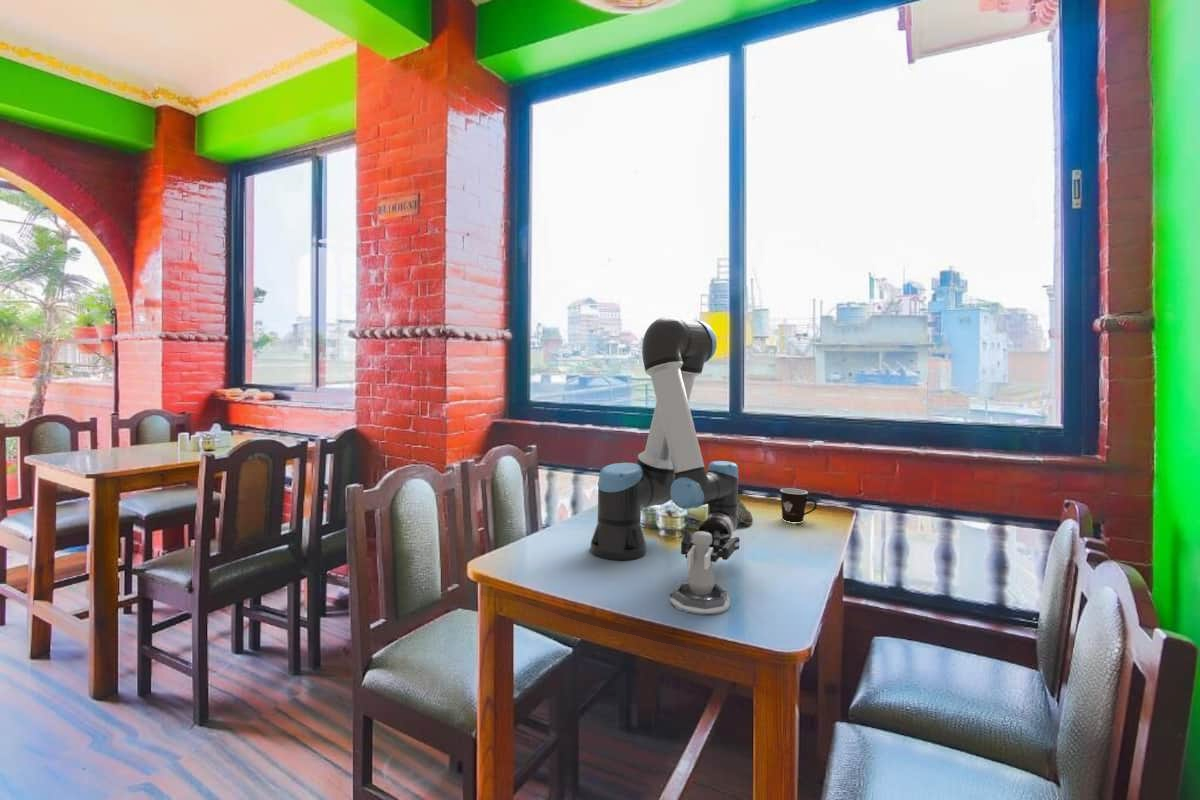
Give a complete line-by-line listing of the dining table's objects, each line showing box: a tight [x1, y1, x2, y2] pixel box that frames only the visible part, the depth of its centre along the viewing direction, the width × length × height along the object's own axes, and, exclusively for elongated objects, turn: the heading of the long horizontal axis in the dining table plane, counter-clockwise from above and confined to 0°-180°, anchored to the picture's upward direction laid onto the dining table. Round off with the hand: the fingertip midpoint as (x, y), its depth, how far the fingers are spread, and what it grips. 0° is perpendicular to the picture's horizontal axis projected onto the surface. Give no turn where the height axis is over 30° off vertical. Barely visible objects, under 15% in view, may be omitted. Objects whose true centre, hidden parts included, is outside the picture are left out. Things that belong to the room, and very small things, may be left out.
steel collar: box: [669, 581, 731, 615], centre depth 129 cm, size 13×13×2 cm
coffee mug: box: [779, 487, 818, 522], centre depth 195 cm, size 12×9×10 cm
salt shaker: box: [687, 530, 716, 595], centre depth 128 cm, size 6×6×13 cm
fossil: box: [737, 498, 754, 527], centre depth 192 cm, size 11×9×10 cm
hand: (697, 561), depth 123 cm, fingers closed on salt shaker, 3 cm apart
